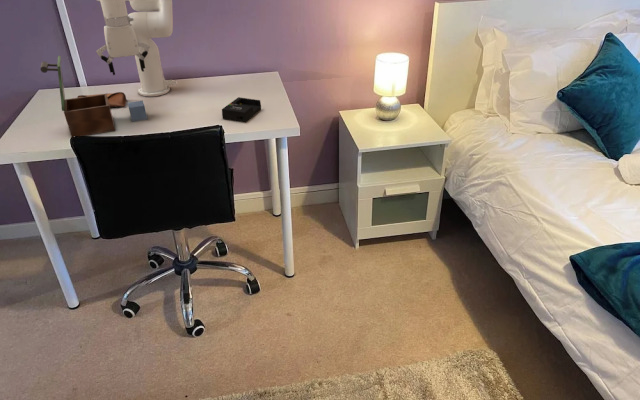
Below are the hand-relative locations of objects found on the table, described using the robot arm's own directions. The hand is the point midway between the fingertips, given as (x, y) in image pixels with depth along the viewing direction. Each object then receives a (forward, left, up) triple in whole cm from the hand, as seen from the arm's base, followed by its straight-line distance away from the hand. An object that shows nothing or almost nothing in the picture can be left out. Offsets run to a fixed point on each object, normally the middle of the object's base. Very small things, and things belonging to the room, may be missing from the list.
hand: (128, 72), depth 170 cm
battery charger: (-36, +13, -18) cm, 42 cm away
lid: (+21, +2, 0) cm, 21 cm away
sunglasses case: (+12, -18, -18) cm, 28 cm away
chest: (+16, +2, -17) cm, 24 cm away
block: (0, 0, -17) cm, 17 cm away
